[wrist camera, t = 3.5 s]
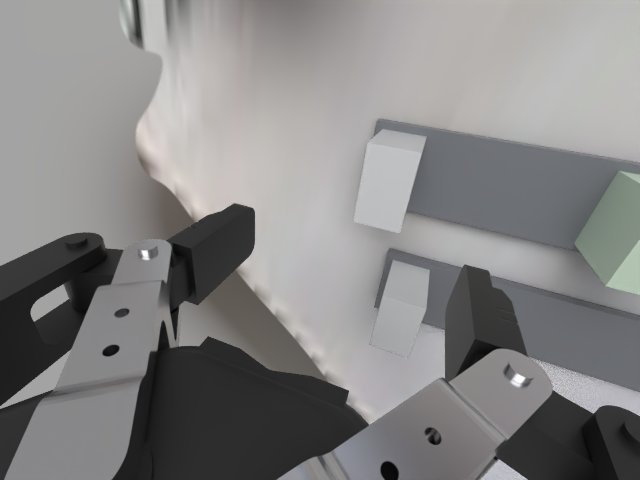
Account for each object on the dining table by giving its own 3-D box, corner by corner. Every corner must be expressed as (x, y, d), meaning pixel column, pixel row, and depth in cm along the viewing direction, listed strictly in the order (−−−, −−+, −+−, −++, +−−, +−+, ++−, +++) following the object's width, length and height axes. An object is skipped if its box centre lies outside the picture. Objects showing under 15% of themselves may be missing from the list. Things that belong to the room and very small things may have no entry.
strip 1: (879, 203, 16) (1067, 261, 11) (779, 294, 19) (892, 370, 14) (379, 118, 22) (360, 131, 17) (363, 196, 25) (344, 226, 20)
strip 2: (786, 355, 20) (892, 443, 15) (716, 409, 23) (786, 497, 19) (389, 248, 26) (377, 287, 22) (375, 302, 30) (361, 346, 25)
